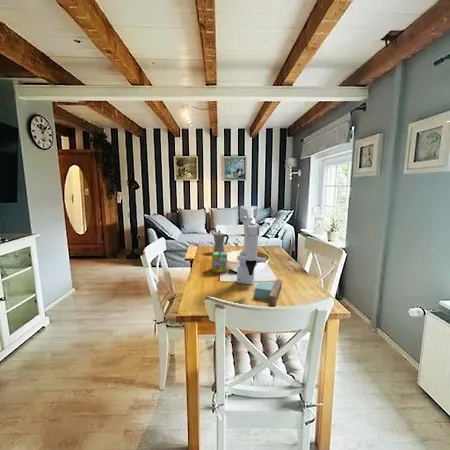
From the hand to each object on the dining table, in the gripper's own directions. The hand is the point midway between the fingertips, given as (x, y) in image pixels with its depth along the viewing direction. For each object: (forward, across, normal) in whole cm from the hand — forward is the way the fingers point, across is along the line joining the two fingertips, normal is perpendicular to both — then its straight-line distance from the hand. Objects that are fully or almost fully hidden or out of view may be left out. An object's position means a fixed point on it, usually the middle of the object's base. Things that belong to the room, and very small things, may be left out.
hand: (250, 274), depth 142 cm
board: (+9, +13, 0) cm, 16 cm away
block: (+10, +7, 0) cm, 12 cm away
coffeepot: (+10, -42, +75) cm, 86 cm away
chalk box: (+10, -27, +29) cm, 41 cm away
